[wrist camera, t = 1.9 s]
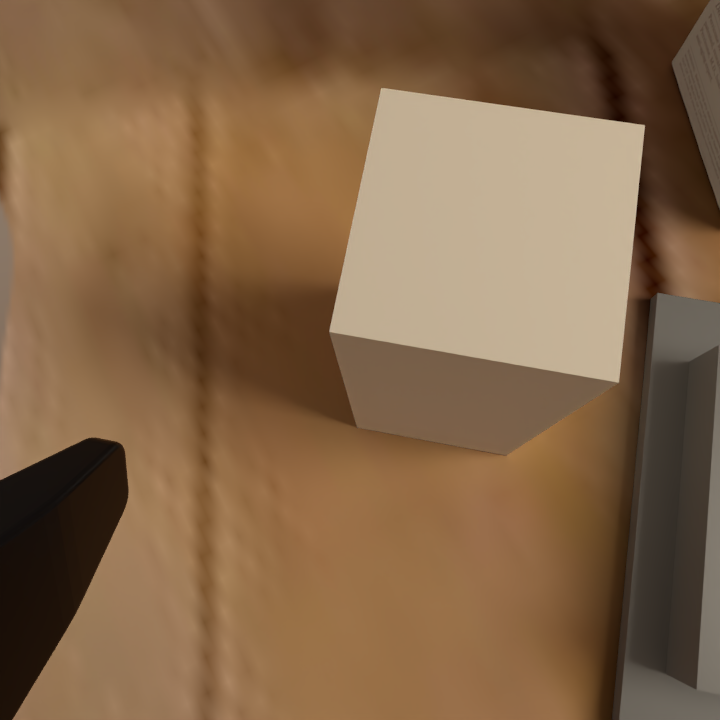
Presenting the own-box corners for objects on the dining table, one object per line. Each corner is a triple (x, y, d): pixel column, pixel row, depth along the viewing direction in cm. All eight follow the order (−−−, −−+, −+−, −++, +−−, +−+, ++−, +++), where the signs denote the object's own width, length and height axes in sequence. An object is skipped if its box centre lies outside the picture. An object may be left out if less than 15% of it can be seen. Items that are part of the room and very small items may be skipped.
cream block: (505, 455, 22) (618, 382, 11) (356, 427, 22) (329, 332, 12) (525, 313, 23) (644, 125, 12) (384, 289, 23) (381, 87, 13)
